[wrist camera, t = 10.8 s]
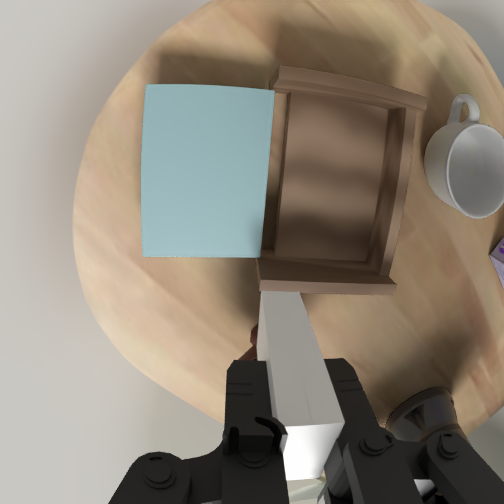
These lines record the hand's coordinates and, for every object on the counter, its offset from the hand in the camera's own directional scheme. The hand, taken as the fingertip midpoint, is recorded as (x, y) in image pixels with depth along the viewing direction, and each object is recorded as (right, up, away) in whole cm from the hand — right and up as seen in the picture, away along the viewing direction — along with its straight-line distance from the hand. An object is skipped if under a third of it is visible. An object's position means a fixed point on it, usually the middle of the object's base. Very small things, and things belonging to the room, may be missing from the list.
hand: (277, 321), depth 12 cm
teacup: (+23, +16, +20) cm, 35 cm away
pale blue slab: (0, +11, +18) cm, 21 cm away
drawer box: (+7, +11, +21) cm, 25 cm away
